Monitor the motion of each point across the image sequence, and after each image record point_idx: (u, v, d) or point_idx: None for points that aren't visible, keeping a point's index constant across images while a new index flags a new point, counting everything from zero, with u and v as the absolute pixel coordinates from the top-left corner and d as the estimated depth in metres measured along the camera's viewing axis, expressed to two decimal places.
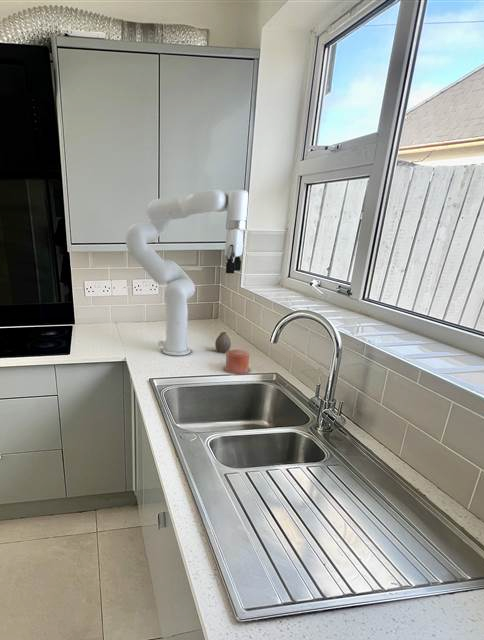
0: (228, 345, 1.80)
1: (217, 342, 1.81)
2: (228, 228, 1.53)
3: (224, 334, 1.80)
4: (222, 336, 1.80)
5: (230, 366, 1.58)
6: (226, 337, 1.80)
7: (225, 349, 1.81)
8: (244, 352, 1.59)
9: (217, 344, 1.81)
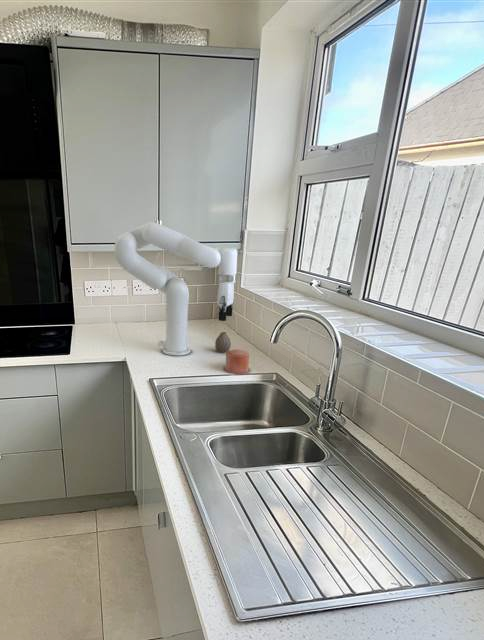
0: (228, 345, 1.80)
1: (217, 342, 1.81)
2: (220, 281, 1.71)
3: (224, 334, 1.80)
4: (222, 336, 1.80)
5: (230, 366, 1.58)
6: (226, 337, 1.80)
7: (225, 349, 1.81)
8: (244, 352, 1.59)
9: (217, 344, 1.81)
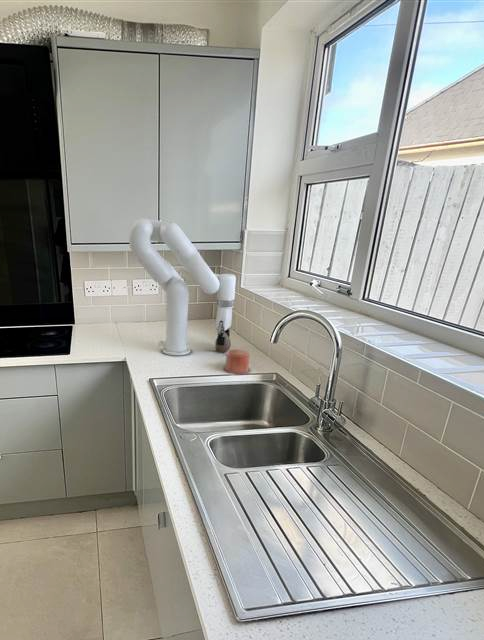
0: (228, 345, 1.80)
1: None
2: (218, 306, 1.75)
3: (224, 334, 1.80)
4: None
5: (230, 366, 1.58)
6: (226, 337, 1.80)
7: (225, 349, 1.81)
8: (244, 352, 1.59)
9: None
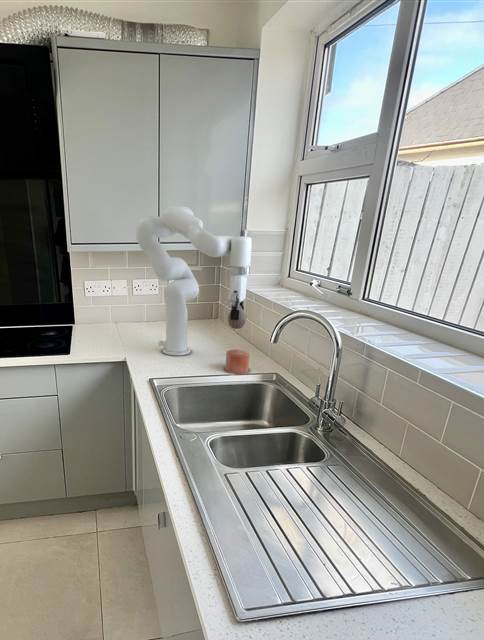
0: (243, 320, 1.57)
1: None
2: (232, 274, 1.52)
3: None
4: None
5: (230, 366, 1.58)
6: (241, 310, 1.57)
7: (240, 324, 1.58)
8: (244, 352, 1.59)
9: (230, 319, 1.58)
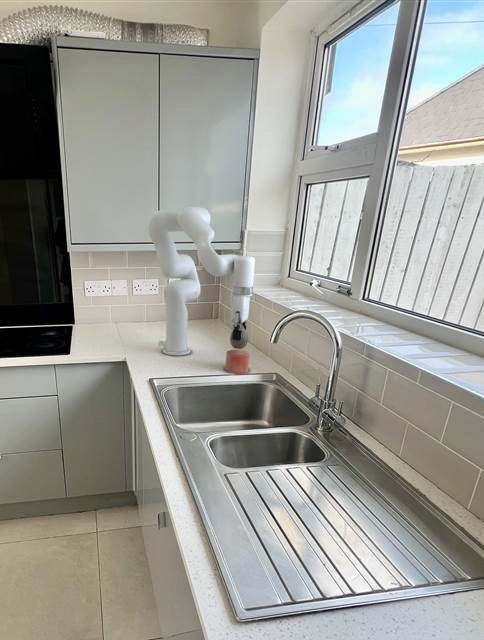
0: (245, 340, 1.55)
1: None
2: (234, 294, 1.49)
3: (241, 327, 1.54)
4: None
5: (230, 366, 1.58)
6: (243, 331, 1.54)
7: (242, 345, 1.55)
8: (244, 352, 1.59)
9: (232, 339, 1.55)
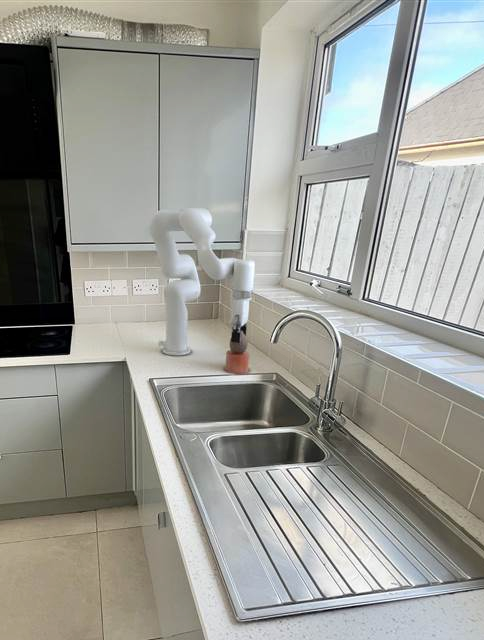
0: (245, 345, 1.55)
1: (232, 342, 1.56)
2: (234, 297, 1.49)
3: None
4: None
5: (230, 366, 1.58)
6: (242, 336, 1.55)
7: (241, 350, 1.56)
8: (244, 352, 1.59)
9: (232, 344, 1.56)
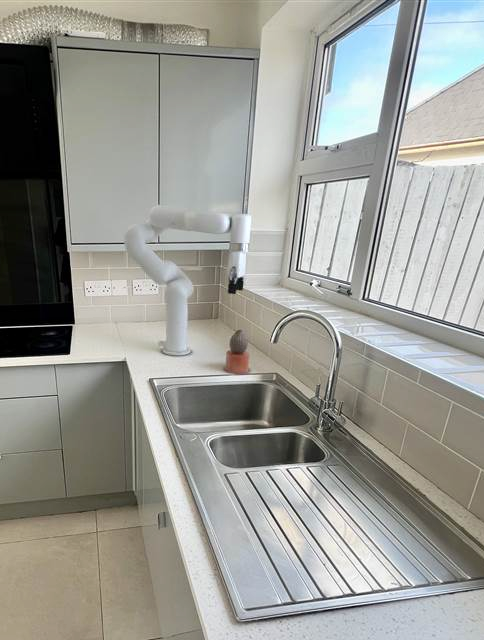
0: (245, 345, 1.55)
1: (232, 342, 1.56)
2: (231, 250, 1.58)
3: (240, 332, 1.55)
4: (238, 334, 1.55)
5: (230, 366, 1.58)
6: (242, 336, 1.55)
7: (241, 350, 1.56)
8: (244, 352, 1.59)
9: (232, 344, 1.56)
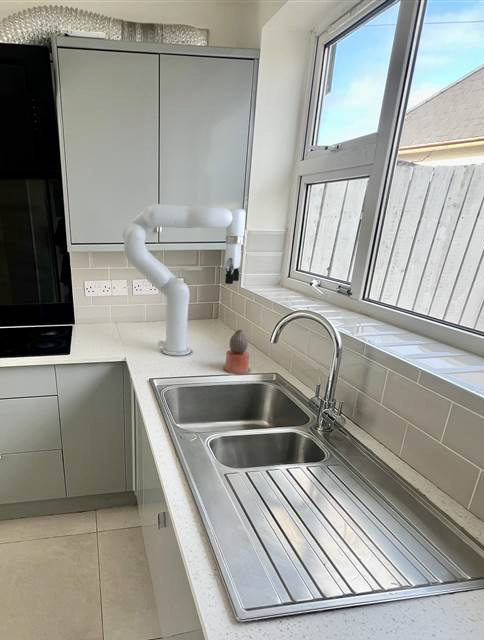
0: (245, 345, 1.55)
1: (232, 342, 1.56)
2: (227, 243, 1.69)
3: (240, 332, 1.55)
4: (238, 334, 1.55)
5: (230, 366, 1.58)
6: (242, 336, 1.55)
7: (241, 350, 1.56)
8: (244, 352, 1.59)
9: (232, 344, 1.56)
